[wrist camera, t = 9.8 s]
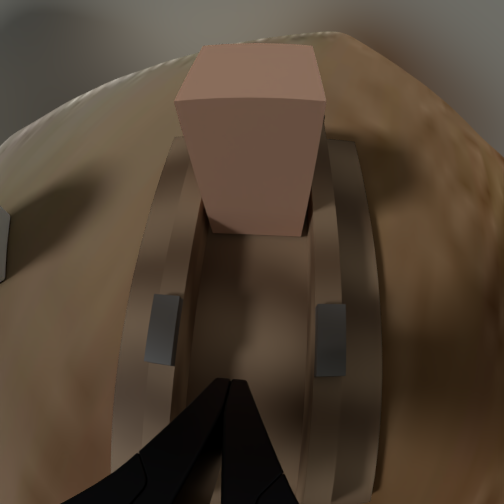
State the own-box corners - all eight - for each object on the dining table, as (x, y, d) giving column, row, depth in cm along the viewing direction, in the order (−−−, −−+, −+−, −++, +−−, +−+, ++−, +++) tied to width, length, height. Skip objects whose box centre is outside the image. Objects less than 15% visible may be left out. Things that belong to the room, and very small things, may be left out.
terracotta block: (300, 236, 16) (326, 101, 8) (212, 233, 17) (174, 101, 8) (299, 170, 18) (312, 45, 10) (223, 168, 19) (203, 45, 11)
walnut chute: (365, 497, 10) (391, 522, 7) (117, 475, 11) (81, 491, 8) (352, 148, 21) (363, 110, 17) (176, 144, 22) (165, 106, 18)
